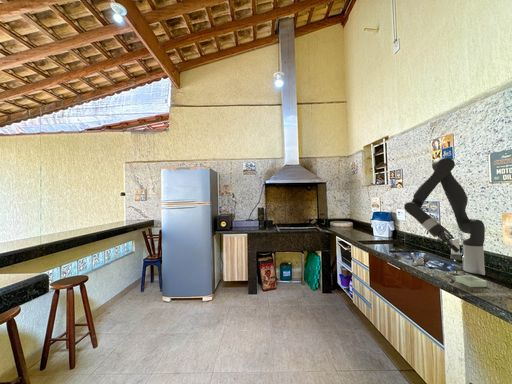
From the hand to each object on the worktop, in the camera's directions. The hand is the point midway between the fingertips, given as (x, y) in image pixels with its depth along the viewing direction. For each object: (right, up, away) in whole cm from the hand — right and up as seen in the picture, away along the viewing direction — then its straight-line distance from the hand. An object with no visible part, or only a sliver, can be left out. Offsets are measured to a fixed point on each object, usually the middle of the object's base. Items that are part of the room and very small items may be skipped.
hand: (459, 250), depth 130 cm
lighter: (0, -19, +35) cm, 39 cm away
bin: (-1, -17, -8) cm, 18 cm away
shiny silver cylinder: (-1, -5, +1) cm, 5 cm away
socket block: (-1, -17, +1) cm, 17 cm away
